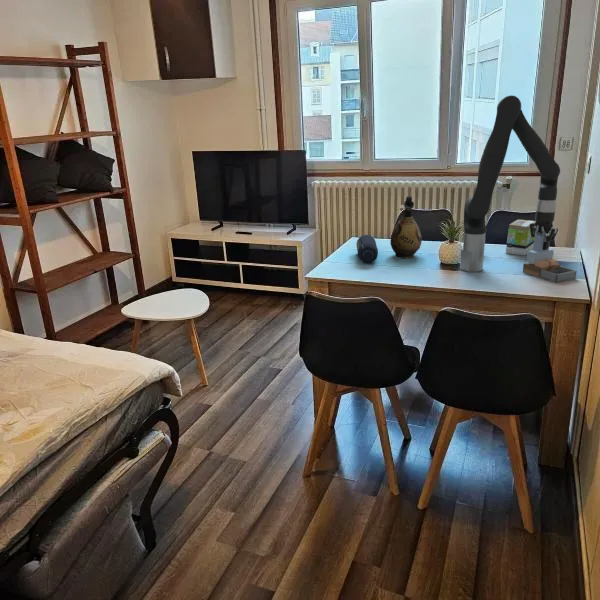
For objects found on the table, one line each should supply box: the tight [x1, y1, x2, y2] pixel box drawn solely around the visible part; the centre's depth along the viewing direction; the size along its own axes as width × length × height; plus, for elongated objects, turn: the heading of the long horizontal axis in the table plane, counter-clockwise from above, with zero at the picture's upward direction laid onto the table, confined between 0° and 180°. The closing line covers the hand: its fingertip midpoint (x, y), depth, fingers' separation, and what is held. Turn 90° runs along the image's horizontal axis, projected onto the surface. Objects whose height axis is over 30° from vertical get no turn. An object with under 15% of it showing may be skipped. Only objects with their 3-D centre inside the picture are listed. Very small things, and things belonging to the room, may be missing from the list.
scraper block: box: [525, 234, 555, 264], centre depth 232 cm, size 11×4×12 cm, turn 113°
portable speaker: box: [355, 234, 379, 264], centre depth 267 cm, size 25×10×10 cm, turn 176°
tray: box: [539, 265, 577, 284], centre depth 226 cm, size 11×8×4 cm
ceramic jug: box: [389, 195, 423, 259], centre depth 264 cm, size 17×15×30 cm
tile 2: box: [544, 258, 559, 266], centre depth 232 cm, size 4×4×2 cm
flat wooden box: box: [522, 262, 561, 278], centre depth 234 cm, size 12×9×4 cm
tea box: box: [505, 219, 536, 256], centre depth 265 cm, size 15×10×15 cm
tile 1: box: [534, 260, 549, 268], centre depth 230 cm, size 4×4×2 cm
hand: (540, 248), depth 232 cm, fingers closed on scraper block, 4 cm apart
